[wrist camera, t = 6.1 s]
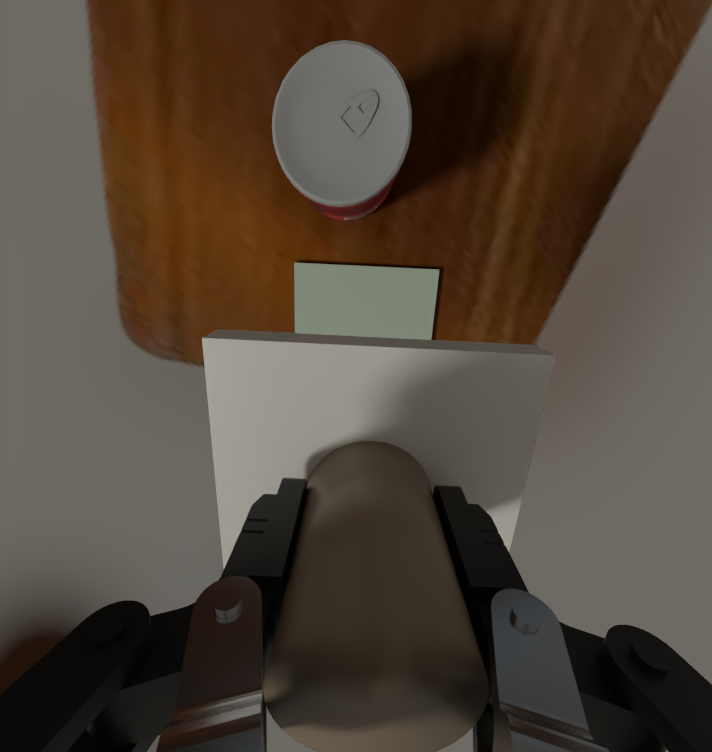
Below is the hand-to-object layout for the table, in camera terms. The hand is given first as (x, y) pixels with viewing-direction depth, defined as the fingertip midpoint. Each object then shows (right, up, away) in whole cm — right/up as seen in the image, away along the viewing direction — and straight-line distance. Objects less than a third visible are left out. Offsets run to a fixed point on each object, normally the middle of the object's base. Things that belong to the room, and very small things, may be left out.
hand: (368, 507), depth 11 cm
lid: (0, +1, +2) cm, 2 cm away
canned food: (-1, +21, +19) cm, 29 cm away
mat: (0, +8, +23) cm, 25 cm away
